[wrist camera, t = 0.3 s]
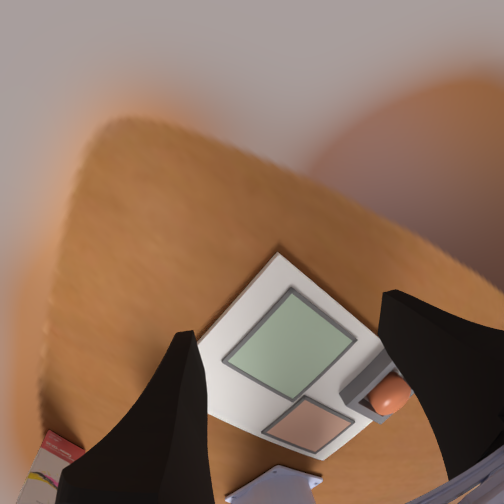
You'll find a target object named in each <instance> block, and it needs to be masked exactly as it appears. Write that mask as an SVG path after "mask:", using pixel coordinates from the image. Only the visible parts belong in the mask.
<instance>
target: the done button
mask: <svg viewBox="0 0 504 504" xmlns="http://www.w3.org/2000/svg"><path fill="white" fill-rule="evenodd" d="M410 394H411V389H410V387H409V386H408V384H407V383H406V382H405V381H404V380H403V378H402V377H401V376H400V375H399V374H398V373H397V372H389V373H388V374H387V375H386V376H385V377H384V378H383V379H382V380H381V381H380V382H379V383H378V384H377V385H376V386H375V387H374V388H373V389H372V390H371V391H370V392H369V393H368V394H367V398H368V400H369V402H370V403H371V405H372V406H373V408H374V409H375V411H376V412H377V413H378V414H379V415H389V414H392V413H394V412H396V411H397V410H399V409H400V408H401V407H402V406H403V405H404V404H405V403H406V402H407V401H408V399H409V397H410Z"/></svg>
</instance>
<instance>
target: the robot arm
mask: <svg viewBox="0 0 504 504" xmlns="http://www.w3.org/2000/svg"><path fill="white" fill-rule="evenodd" d="M378 336H379V338H380V340H381V342H382V344H383V346H384V348H385V350H386V352H387V354H388V355H389V357H390V358H391V360H392V361H393V362H394V364H395V365H396V367H397V368H398V370H399V371H400V373H401V374H402V375H403V377H404V378H405V380H406V381H407V383H408V384H409V386H410V387H411V389H412V390H413V391H414V393H415V395H416V396H417V398H418V400H419V402H420V404H421V406H422V408H423V410H424V412H425V414H426V416H427V418H428V420H429V422H430V425H431V427H432V429H433V432H434V434H435V437H436V439H437V442H438V445H439V448H440V451H441V453H442V457H443V460H444V464H445V467H446V471H447V475H448V479H449V481H448V482H446V483H445V484H443V485H441V486H439V487H437V488H436V489H434V490H432V491H430V492H428V493H426V494H424V495H422V496H420V497H418V498H416V499H414V500H412V501H410V502H408V503H405V504H448V503H450V502H451V501H453V500H455V499H456V498H458V497H460V496H461V495H463V494H464V493H466V492H468V491H469V490H471V489H472V488H474V487H475V486H477V485H478V484H480V483H481V484H480V485H479V486H478V487H477V488H475V489H474V490H473V491H471V492H470V493H469V494H467V495H466V496H465V497H464V498H463V499H462V500H461V501H460V502H459V503H458V504H504V331H503V330H498V329H494V328H490V327H486V326H483V325H480V324H477V323H474V322H470V321H468V320H465V319H462V318H460V317H457V316H455V315H452V314H450V313H448V312H445V311H443V310H441V309H439V308H437V307H434V306H432V305H430V304H428V303H426V302H424V301H422V300H420V299H417V298H415V297H413V296H411V295H409V294H406V293H404V292H402V291H399V290H396V289H395V290H391V291H387V292H383V295H382V304H381V312H380V320H379V327H378ZM207 412H208V393H207V383H206V374H205V369H204V365H203V362H202V359H201V355H200V352H199V349H198V345H197V342H196V338H195V335H194V331H193V330H191V331H184V332H177V333H176V334H175V335H174V337H173V339H172V342H171V344H170V346H169V348H168V350H167V352H166V354H165V356H164V357H163V359H162V361H161V363H160V365H159V367H158V368H157V370H156V372H155V374H154V375H153V377H152V379H151V380H150V382H149V383H148V385H147V386H146V388H145V390H144V391H143V393H142V394H141V395H140V397H139V398H138V400H137V401H136V402H135V404H134V405H133V406H132V408H131V409H130V410H129V411H128V413H127V414H126V415H125V416H124V417H123V418H122V419H121V421H120V422H119V423H118V424H117V425H116V426H115V427H114V428H113V429H112V430H111V431H110V432H109V433H108V434H107V435H106V436H105V437H104V438H103V439H102V440H101V441H100V442H99V443H97V444H96V445H95V446H94V447H93V448H91V449H90V450H89V451H88V452H86V453H85V454H84V455H82V456H81V457H80V458H78V459H77V460H75V461H74V462H73V463H71V464H70V465H68V466H67V467H65V468H64V469H62V472H61V475H60V479H59V483H58V488H57V494H56V500H55V504H215V501H214V495H213V489H212V482H211V476H210V468H209V460H208V448H207ZM322 481H323V478H322V477H318V476H314V475H311V474H307V473H304V472H300V471H297V470H294V469H290V468H287V467H284V466H281V465H277V466H274V467H273V468H272V469H270V470H269V471H267V472H266V473H264V474H263V475H261V476H260V477H258V478H256V479H255V480H253V481H252V482H250V483H249V484H247V485H245V486H244V487H242V488H240V489H239V490H237V491H235V492H234V493H232V494H230V495H229V496H227V497H225V501H227V502H230V503H231V504H316V503H315V500H314V497H313V494H312V491H311V489H312V488H313V487H315V486H317V485H318V484H320V483H321V482H322Z"/></svg>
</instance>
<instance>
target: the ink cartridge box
mask: <svg viewBox="0 0 504 504" xmlns="http://www.w3.org/2000/svg"><path fill="white" fill-rule="evenodd" d="M84 454H85V450H83V449H81V448H79V447H78V446H76V445H74V444H72V443H71V442H69V441H67V440H65V439H64V438H62V437H60V436H59V435H57V434H55V433H54V432H52V431H51V430H48V432H47V434H46V436H45V438H44V440H43V442H42V445H41V447H40V449H39V451H38V453H37V455H36V457H35V460H34V462H33V464H32V466H31V468H30V471H29V473H28V475H27V478H26V480H25V482H24V485H23V487H22V489H21V492H20V494H19V497H18V499H17V502H16V504H55V500H56V494H57V488H58V483H59V479H60V475H61V472H62V469H64V468H65V467H67V466H68V465H70V464H71V463H73V462H74V461H75V460H77V459H78V458H80V457H81V456H82V455H84Z"/></svg>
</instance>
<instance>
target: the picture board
mask: <svg viewBox="0 0 504 504" xmlns="http://www.w3.org/2000/svg"><path fill="white" fill-rule="evenodd" d="M197 345H198V349H199V352H200V355H201V359H202V362H203V365H204V369H205V374H206V383H207V393H208V412H207V413H208V414H210V415H212V416H214V417H216V418H218V419H220V420H223V421H225V422H227V423H229V424H231V425H233V426H235V427H238V428H240V429H242V430H244V431H246V432H249V433H251V434H253V435H256V436H258V437H260V438H263V439H265V440H268V441H270V442H272V443H275V444H278V445H280V446H283V447H285V448H288V449H291V450H293V451H296V452H299V453H301V454H304V455H307V456H310V457H313V458H316V459H319V460H322V461H323V460H324V459H326V458H327V457H329V456H330V455H331V454H333V453H334V452H335V451H336V450H338V449H339V448H340V447H342V446H343V445H344V444H345V443H347V442H348V441H349V440H350V439H352V438H353V437H354V436H355V435H357V434H358V433H359V432H360V431H361V430H363V429H364V428H365V427H366V426H367V425H368V424H370V423H371V422H372V421H375V422H377V423H379V424H382V423H383V422H384V421H385V420H386V419H387V418H388V417H390V416H391V415H392V414H393V413H392V414H389V415H379V414H378V413H377V412H376V411H375V409H374V408H373V406H372V405H371V403H370V402H369V400H368V398H367V394H368V393H369V392H370V391H371V390H372V389H373V388H374V387H375V386H376V385H377V384H378V383H379V382H380V381H381V380H382V379H383V378H384V377H385V376H386V375H387V374H388V373H389V372H397V373H398V374H399V375H400V376H401V377H402V378H403V380H404V381H405V382H406V383H407V381H406V380H405V378H404V377H403V375H402V374H401V373H400V371H399V370H398V368H397V367H396V365H395V364H394V362H393V361H392V360H391V358H390V357H389V355H388V354H387V352H386V350H385V348H384V346H383V344H382V342H381V340H380V338H379V337H378V336H376V335H375V334H374V333H373V332H372V331H371V330H369V329H368V328H367V327H366V326H365V325H364V324H362V323H361V322H360V321H359V320H358V319H357V318H355V317H354V316H353V315H352V314H351V313H350V312H348V311H347V310H346V309H345V308H344V307H343V306H341V305H340V304H339V303H338V302H337V301H336V300H334V299H333V298H332V297H331V296H330V295H328V294H327V293H326V292H325V291H324V290H323V289H321V288H320V287H319V286H318V285H317V284H315V283H314V282H313V281H312V280H311V279H310V278H308V277H307V276H306V275H305V274H304V273H302V272H301V271H300V270H299V269H298V268H296V267H295V266H294V265H293V264H292V263H291V262H289V261H288V260H287V259H286V258H285V257H283V256H282V255H281V254H280V253H279V252H276V254H275V255H274V256H273V257H272V258H271V259H270V260H269V262H268V263H267V264H266V265H265V266H264V267H263V268H262V270H261V271H260V272H259V273H258V274H257V275H256V276H255V278H254V279H253V280H252V281H251V282H250V283H249V284H248V286H247V287H246V288H245V289H244V290H243V291H242V292H241V293H240V295H239V296H238V297H237V298H236V299H235V300H234V301H233V302H232V304H231V305H230V306H229V307H228V308H227V309H226V310H225V311H224V313H223V314H222V315H221V316H220V317H219V318H218V319H217V320H216V321H215V323H214V324H213V325H212V326H211V327H210V328H209V329H208V330H207V332H206V333H205V334H204V335H203V336H202V337H201V338H200V339H199V340H198V342H197ZM407 384H408V383H407ZM408 386H409V384H408ZM409 387H410V386H409ZM410 389H411V387H410ZM413 394H414V391H413V390H412V389H411V394H410V397H411V396H412V395H413ZM410 397H409V398H410Z"/></svg>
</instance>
